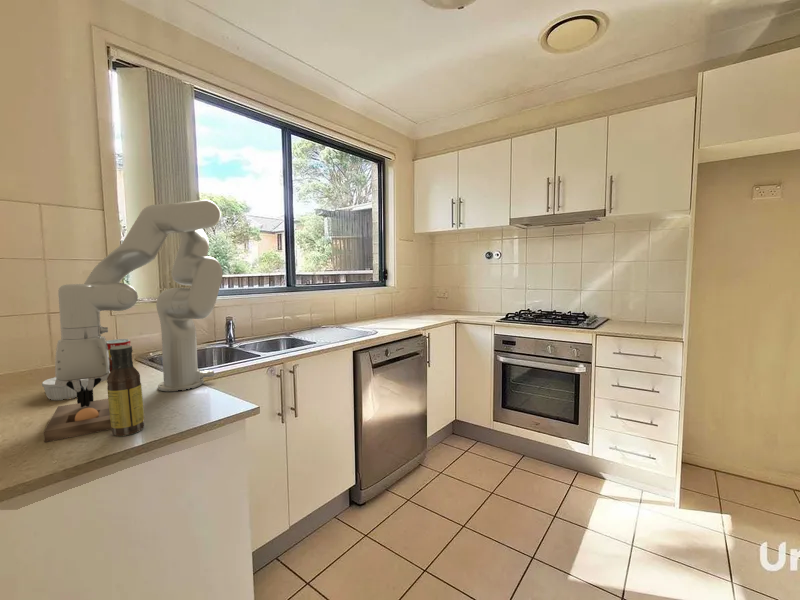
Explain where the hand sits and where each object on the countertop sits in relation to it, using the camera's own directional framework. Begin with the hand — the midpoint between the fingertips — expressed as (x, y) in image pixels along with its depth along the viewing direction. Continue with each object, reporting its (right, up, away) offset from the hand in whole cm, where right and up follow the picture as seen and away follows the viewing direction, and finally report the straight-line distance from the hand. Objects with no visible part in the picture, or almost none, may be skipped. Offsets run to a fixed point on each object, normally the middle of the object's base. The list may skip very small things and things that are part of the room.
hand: (85, 405), depth 92 cm
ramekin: (-19, -2, +16) cm, 25 cm away
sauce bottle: (+17, -4, -8) cm, 19 cm away
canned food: (-22, 0, +39) cm, 45 cm away
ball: (+5, -1, -5) cm, 7 cm away
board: (+3, -3, -2) cm, 5 cm away
